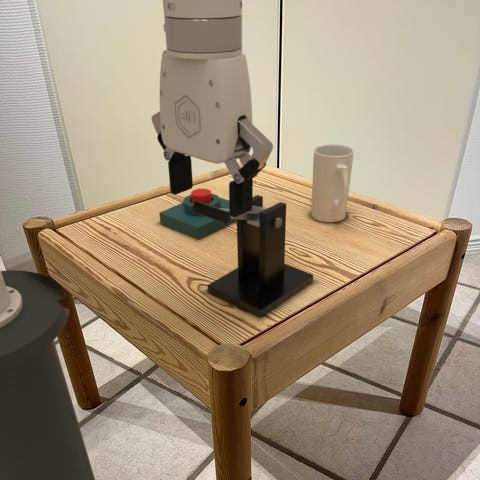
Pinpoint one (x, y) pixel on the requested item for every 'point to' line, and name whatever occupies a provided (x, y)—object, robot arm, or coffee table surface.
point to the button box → (193, 218)
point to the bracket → (261, 265)
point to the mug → (331, 182)
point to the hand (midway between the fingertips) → (210, 201)
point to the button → (201, 196)
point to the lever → (227, 213)
